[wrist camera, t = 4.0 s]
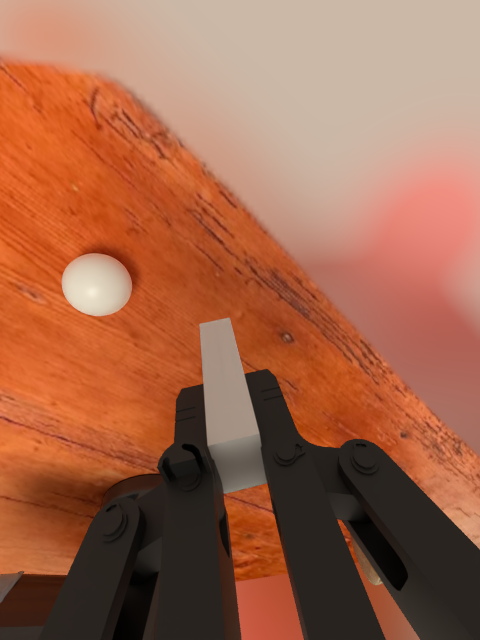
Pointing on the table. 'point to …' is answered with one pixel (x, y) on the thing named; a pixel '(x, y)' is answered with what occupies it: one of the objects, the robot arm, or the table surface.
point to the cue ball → (96, 284)
